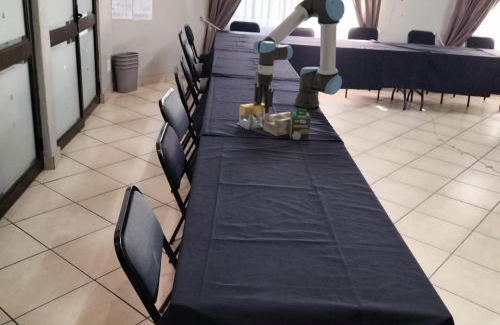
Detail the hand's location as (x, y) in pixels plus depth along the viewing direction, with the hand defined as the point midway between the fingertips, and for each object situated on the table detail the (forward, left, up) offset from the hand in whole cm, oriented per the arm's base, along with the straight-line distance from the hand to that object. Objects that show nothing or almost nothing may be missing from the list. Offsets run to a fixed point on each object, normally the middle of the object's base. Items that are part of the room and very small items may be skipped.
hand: (261, 117), depth 234 cm
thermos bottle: (-17, -23, -4) cm, 29 cm away
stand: (+7, 0, -4) cm, 8 cm away
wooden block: (+6, 0, +3) cm, 7 cm away
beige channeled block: (-3, +13, -4) cm, 14 cm away
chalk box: (-4, +24, -4) cm, 25 cm away
